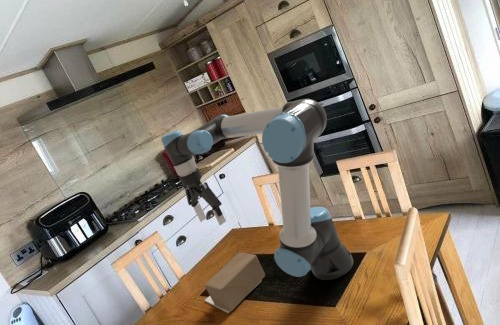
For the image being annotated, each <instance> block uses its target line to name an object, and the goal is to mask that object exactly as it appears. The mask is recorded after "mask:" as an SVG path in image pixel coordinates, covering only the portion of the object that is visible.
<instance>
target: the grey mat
mask: <svg viewBox="0 0 500 325" xmlns="http://www.w3.org/2000/svg"><path fill="white" fill-rule="evenodd" d="M262 281H263V279H262V280H261V281H260V282H259V283H258V284H257V285H256V286H255V287H254V288H253V289H252V290H251V291H250V293H251V292H252V291H253V290H255V289H256V288H257V286H259V284H261V283H262ZM204 302H206V303H207V304H209V305H211V306H213V307H216V308H217V309H220V310H221V311H223V312H225V313H227V314H229V313H230V312H231V311H228V310H226V309H223V308H220V307H217V306H215V304H214V302H213V301H212V299H211V297H210V295H209V296H208V297H206V299H204Z"/></svg>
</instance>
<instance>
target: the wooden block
mask: <svg viewBox="0 0 500 325" xmlns="http://www.w3.org/2000/svg"><path fill="white" fill-rule="evenodd" d="M265 277H266V274H265V272H264V270H263V267H262V265H261V263H260V261H259V259H258V256H257V255H256V254H252V253H251V254H250V253H246V252H238V253H237V254H235V256H234V257H233V258H232V259H231V260H230V261H229V262H228V263H226V264H225V265H224V266H223V267H222V268H221V269H220V270H219V271H218V272H216V273H215V275H213V276H212V277H211V278H210V279H209V280H208V281H207V282H205V284H204V287H205V289H206V291H207V293H208V295H209V296H210V297H211V299H212V301H213V302H214V304H215V306H217V307H220V308H223V309H226V310H228V311H230V312H232V311H233V310H234V309H235V308H236V307H237V306H239V304H241V302H242V301H243V300H244V299H245V298H246V297H247V296H248V295H249V294H251V292H252V291H253V290H254V289H255V288H256V287H257V286H258V285H259V284H260V283H261V282H260V281H261V280H262V281H263V279H264V278H265ZM259 282H260V283H259ZM258 283H259V284H258ZM257 284H258V285H257ZM256 285H257V286H256ZM255 286H256V287H255ZM254 287H255V288H254ZM253 288H254V289H253ZM252 289H253V290H252ZM251 290H252V291H251ZM250 291H251V292H250ZM215 306H214V307H215ZM217 307H216V308H217Z"/></svg>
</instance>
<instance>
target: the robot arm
mask: <svg viewBox="0 0 500 325" xmlns="http://www.w3.org/2000/svg"><path fill="white" fill-rule="evenodd" d="M325 110H326V109H324V107H323V106H322V104H320V103H319V102H318V101H316V100H314V99H310V98H302V99H301V98H300V99H296V100H294V101H293V100H292V101H288V102H286V103H285V102H284V104H283V106H278V107H272V108H267V109H262V110H257V111H252V112H251V111H250V112H246V113H239V114H235V115H227V114H221V115H218V116H215V117H214V118H213V119H211V120H210V121H208V122H206V123H205V124H203V125H201V126H200V127H197V128H196V129H194V130H193V131H191V132H188V133H186V134H183V133H182V131H180V130H179V129H176V130H172V131H171V132H168V133H166V134H164V135H162V137H161V138H160V139H161V143H162V145H163V148H164V150H165V152H166V154H167V157H169V159H170V161H171V163H172V165H173V169H174V170H175V171H176V174H177V176H179V179H180V182H181V184H182V186H183V189H184V191H185V196H186V199H187V201H186V202H187V204H188V206H191V207H192V208H193V210H194V211H195V214H196V216H197V218H198V219H199V222H200V223H202V222H204V221H205V220H206V219H207V216H206V214H205V212H204V210H203V207H202V206H201V203H200V201H199V198H202V199H203V200H204V201H205V202H206V204H207V205H209V206H210V207H211V211H212V212H213V215H214V217H215V219H216V221H217V222H218V225H219V226H222V225H223V224H224V223H226V222H227V221H226V220H227V219H226V217H225V216H224V213H223V211H222V210H221V208H220V207H221V206H222V202H221V201H220V199H219V198H218V197H217V195H216V194H215V193H214V191H213V190H212V189H211V188H210V186H209V185H208V182H207V181H205V182H202V181H201V179H202V178H203V175H202V173H201V171H200V169H199V168H198V164H197V163H196V161H195V158H194V157H193V156H195V155H202V154H204V153H207V152H209V151H210V150H212V147H213V145H214V144H216V143H218V142H219V141H221V140H223V139H230V138H239V137H240V138H241V137H247V136H254V135H261V142H262V147H263V150H264V152H265V153H267V156H268V157H269V158H270V159H271V161H272V163H273V164H274V165H276V166H277V168H278V180H279V181H278V182H279V191H280V192H279V194H280V205H281V206H280V207H281V215H282V218H281V219H282V226H283V227H282V228H281V229H280V230H279V233H278V239H279V247H278V248H276V249H275V252H274V255H273V258H274V262H275V263H276V264H277V266H278V267H279V268H280V269H281V270H282V271H283V272H285V273H286V274H288V275H290V276H293V277H298V278H302V277H304V276H306V275H307V274H308V272H310V271H311V272H312V274H313V275H314V278H317V279H319V280H321V281H330V280H335V279H336V280H337V279H339V278H340V277H342V276H345V275H346V274H348V272H350V270H351V269H352V268H353V266H354V259H353V256H352V254H351V252H350V250H348V249H347V247H345V245H344V243H342V242H341V239H340V236H339V233H338V231H337V228H336V226H335V224H334V221H333V217H332V215H331V213H330V211H329V209H327V208H326V207H323V206H314V207H311V192H310V191H311V190H310V189H311V188H310V187H311V186H310V164H311V163H312V162H313V161H314V158H315V153H314V152H315V150H314V149H315V146H314V144H315V141H316V140H317V139H318V138H319V137H320V136H321V135H322V133H323V132H324V130H325V128H326V126H327V121H328V119H327V112H326V111H325Z"/></svg>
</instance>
